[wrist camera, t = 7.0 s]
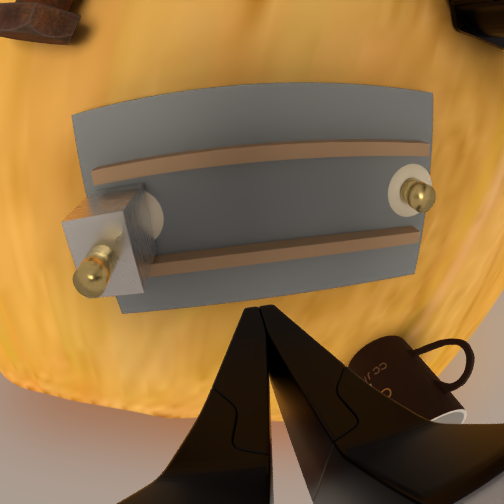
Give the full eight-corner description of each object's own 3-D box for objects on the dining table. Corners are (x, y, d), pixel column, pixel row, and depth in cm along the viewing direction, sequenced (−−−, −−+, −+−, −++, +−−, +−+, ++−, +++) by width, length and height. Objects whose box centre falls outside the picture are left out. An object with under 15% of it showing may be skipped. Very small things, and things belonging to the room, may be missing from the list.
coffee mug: (363, 397, 30) (395, 472, 21) (318, 371, 27) (353, 465, 18) (448, 330, 27) (499, 397, 18) (421, 287, 24) (489, 368, 15)
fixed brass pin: (422, 177, 18) (436, 184, 16) (419, 203, 19) (433, 211, 17) (400, 177, 18) (414, 184, 16) (398, 204, 19) (411, 213, 17)
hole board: (425, 92, 16) (446, 94, 14) (409, 265, 22) (424, 280, 20) (79, 113, 15) (64, 116, 13) (125, 303, 21) (119, 323, 19)
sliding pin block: (143, 182, 16) (109, 230, 10) (156, 249, 18) (136, 320, 12) (93, 191, 16) (41, 242, 10) (109, 255, 18) (75, 324, 12)
